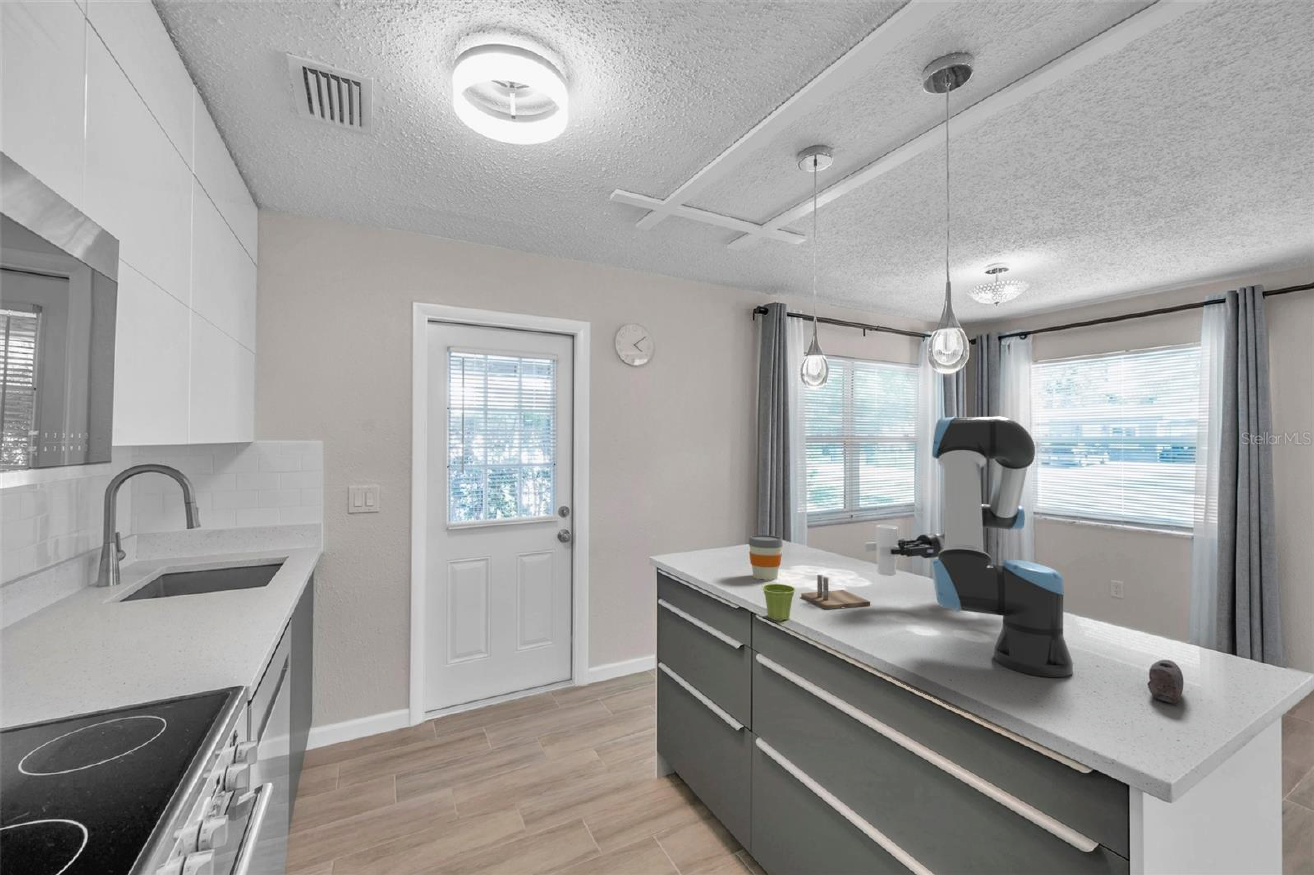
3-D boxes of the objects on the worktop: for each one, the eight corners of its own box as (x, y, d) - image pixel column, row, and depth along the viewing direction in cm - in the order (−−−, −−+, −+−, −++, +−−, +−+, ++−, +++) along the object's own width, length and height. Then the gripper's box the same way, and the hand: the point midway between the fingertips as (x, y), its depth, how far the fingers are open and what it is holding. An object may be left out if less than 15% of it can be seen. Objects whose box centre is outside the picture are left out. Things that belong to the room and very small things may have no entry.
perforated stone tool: (1154, 680, 120) (1154, 648, 120) (1187, 688, 116) (1188, 655, 116) (1144, 701, 110) (1144, 667, 110) (1180, 711, 106) (1180, 675, 106)
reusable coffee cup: (744, 573, 212) (744, 535, 212) (776, 573, 214) (776, 534, 214) (753, 582, 200) (754, 540, 200) (787, 581, 201) (787, 540, 201)
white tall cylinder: (871, 574, 172) (871, 526, 172) (879, 570, 177) (880, 524, 177) (893, 578, 167) (893, 529, 168) (901, 574, 172) (901, 526, 172)
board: (842, 593, 186) (842, 569, 186) (870, 605, 172) (870, 579, 173) (801, 596, 181) (801, 572, 181) (826, 609, 168) (826, 582, 168)
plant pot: (793, 624, 154) (794, 593, 154) (760, 620, 157) (760, 590, 157) (796, 614, 163) (796, 585, 163) (764, 611, 166) (764, 582, 166)
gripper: (957, 564, 168) (894, 568, 162) (911, 551, 187) (853, 555, 180) (957, 539, 168) (895, 543, 162) (911, 529, 187) (853, 532, 180)
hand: (873, 549), depth 171 cm, fingers closed on white tall cylinder, 6 cm apart
